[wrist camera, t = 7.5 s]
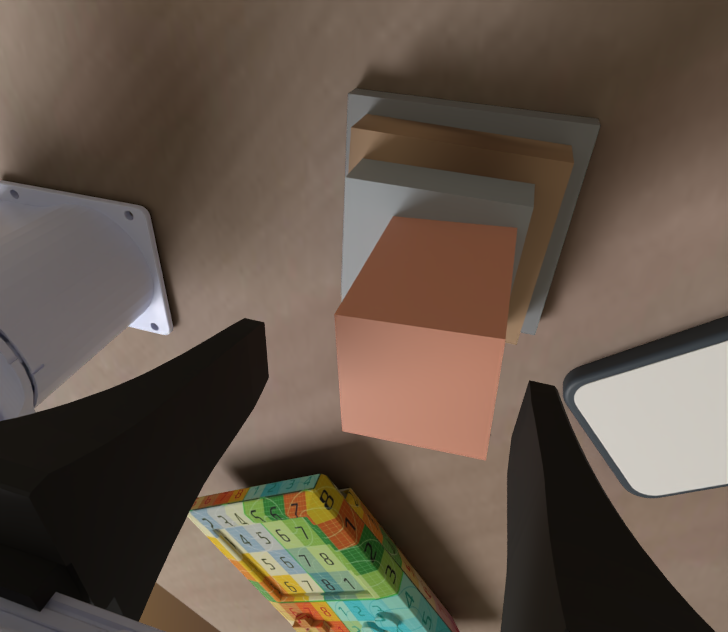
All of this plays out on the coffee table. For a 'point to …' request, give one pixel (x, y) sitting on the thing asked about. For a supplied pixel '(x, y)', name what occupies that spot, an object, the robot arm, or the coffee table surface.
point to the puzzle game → (320, 558)
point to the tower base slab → (500, 122)
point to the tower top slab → (425, 205)
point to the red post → (427, 335)
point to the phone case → (659, 411)
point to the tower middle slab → (481, 158)
